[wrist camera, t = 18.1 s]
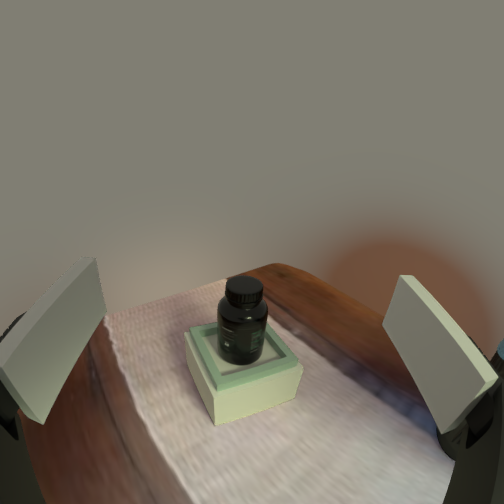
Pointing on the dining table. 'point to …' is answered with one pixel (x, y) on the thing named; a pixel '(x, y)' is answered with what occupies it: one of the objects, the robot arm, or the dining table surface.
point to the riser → (240, 375)
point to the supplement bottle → (241, 321)
